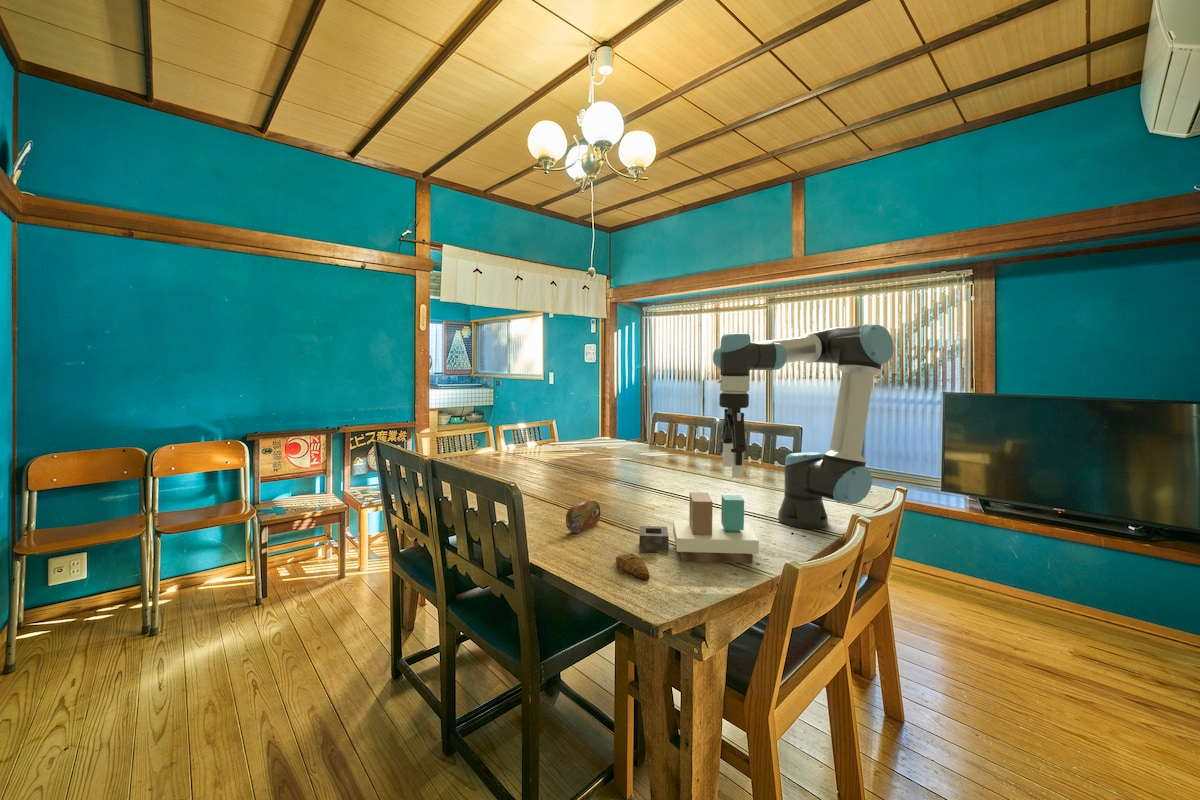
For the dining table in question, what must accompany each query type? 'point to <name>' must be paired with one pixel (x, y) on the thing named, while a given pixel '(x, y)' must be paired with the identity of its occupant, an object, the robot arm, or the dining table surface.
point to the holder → (653, 539)
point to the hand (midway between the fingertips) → (732, 471)
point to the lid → (710, 531)
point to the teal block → (732, 513)
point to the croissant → (633, 566)
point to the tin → (582, 516)
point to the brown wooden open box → (716, 557)
